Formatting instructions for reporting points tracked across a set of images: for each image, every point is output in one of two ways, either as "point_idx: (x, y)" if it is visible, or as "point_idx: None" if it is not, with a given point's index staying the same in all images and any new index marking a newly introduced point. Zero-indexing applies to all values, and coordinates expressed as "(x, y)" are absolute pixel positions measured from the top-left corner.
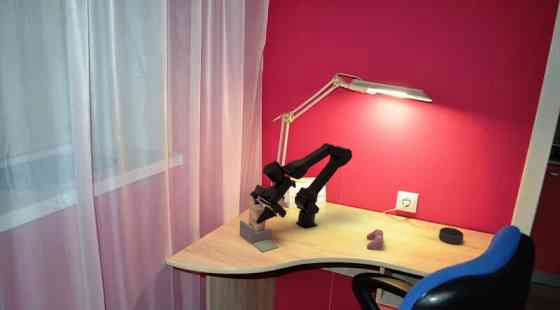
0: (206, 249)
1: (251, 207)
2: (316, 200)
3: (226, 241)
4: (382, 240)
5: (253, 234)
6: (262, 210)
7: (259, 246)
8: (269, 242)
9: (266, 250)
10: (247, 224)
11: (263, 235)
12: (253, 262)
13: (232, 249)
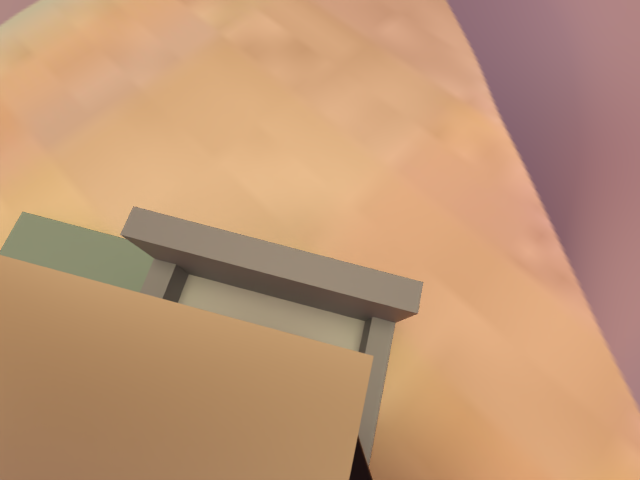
0: (355, 20)
1: (233, 323)
2: None
3: (358, 161)
4: None
5: (155, 258)
6: None
7: (88, 255)
8: None
9: (2, 248)
10: (258, 257)
11: None
12: (11, 82)
13: (238, 111)
